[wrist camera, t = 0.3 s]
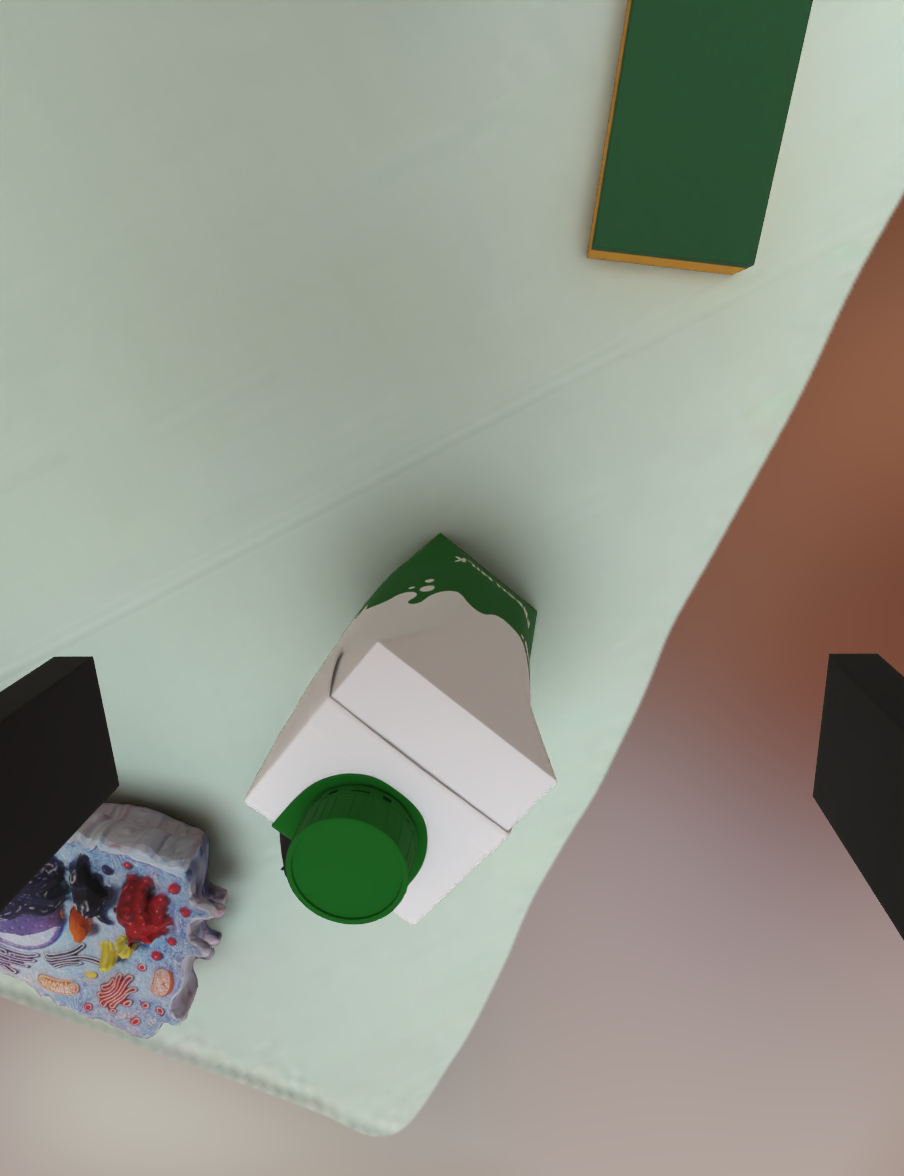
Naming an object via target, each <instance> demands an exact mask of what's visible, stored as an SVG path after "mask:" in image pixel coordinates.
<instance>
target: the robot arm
mask: <svg viewBox="0 0 904 1176" xmlns="http://www.w3.org/2000/svg"><path fill="white" fill-rule="evenodd" d="M118 786H119V781H118V776H117V771H116V766H115V762H114V757H113V752H112V747H111V742H110V737H109V732H108V728H107V723H106V718H105V713H104V708H103V703H102V698H101V693H100V689H99V684H98V679H97V674H96V669H95V664H94V659H93V657H53V658H52V659H50V660H49V661H47V662H46V663H44V664H43V665H41V666H40V667H38V668H36V669H35V670H33V671H32V672H30V673H29V674H27V675H26V676H24V677H23V678H21V679H20V680H18V681H17V682H15V683H14V684H12V685H10V686H9V687H7V688H6V689H4V690H3V691H1V692H0V913H1V912H2V911H3V910H4V909H5V908H6V906H7V905H8V904H9V903H10V902H11V901H12V900H13V899H14V898H15V897H16V896H17V895H18V894H19V893H20V891H21V890H22V889H23V888H24V887H25V886H26V885H27V884H28V883H29V882H30V881H31V880H32V879H33V877H34V876H35V875H36V874H37V873H38V872H39V871H40V870H41V869H42V868H43V867H44V866H45V865H46V864H47V862H48V861H49V860H50V859H51V858H52V857H53V856H54V855H55V854H56V853H57V852H58V851H59V850H60V849H61V847H62V846H63V845H64V844H65V843H66V842H67V841H68V840H69V839H70V838H71V837H72V836H73V835H74V834H75V832H76V831H77V830H78V829H79V828H80V827H81V826H82V825H83V824H84V823H85V822H86V821H87V820H88V819H89V817H90V816H91V815H92V814H93V813H94V812H95V811H96V810H97V809H98V808H99V807H100V806H101V805H102V804H103V802H104V801H105V800H106V799H107V798H108V797H109V796H110V795H111V794H112V793H113V792H114V791H115V790H116V788H117V787H118ZM813 797H814V799H815V800H816V802H817V804H818V805H819V807H820V808H821V810H822V812H823V813H824V815H825V816H826V818H827V819H828V821H829V823H830V824H831V826H832V827H833V829H834V830H835V832H836V834H837V835H838V837H839V838H840V840H841V842H842V843H843V845H844V846H845V848H846V849H847V851H848V853H849V854H850V856H851V857H852V859H853V861H854V862H855V864H856V865H857V867H858V868H859V870H860V872H861V873H862V875H863V876H864V878H865V880H866V881H867V883H868V884H869V886H870V887H871V889H872V890H873V892H874V894H875V895H876V897H877V899H878V900H879V902H880V903H881V905H882V906H883V908H884V909H885V911H886V913H887V914H888V916H889V918H890V919H891V921H892V922H893V924H894V925H895V927H896V929H897V930H898V932H899V933H900V935H901V936H902V938H903V940H904V677H903V676H902V675H901V674H900V673H899V672H897V671H896V670H895V669H894V668H893V667H892V666H891V665H890V664H889V663H887V662H886V661H885V660H884V659H883V658H882V657H881V656H879V655H878V654H829V661H828V670H827V679H826V687H825V696H824V705H823V713H822V722H821V730H820V739H819V748H818V757H817V765H816V773H815V782H814V791H813Z"/></svg>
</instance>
